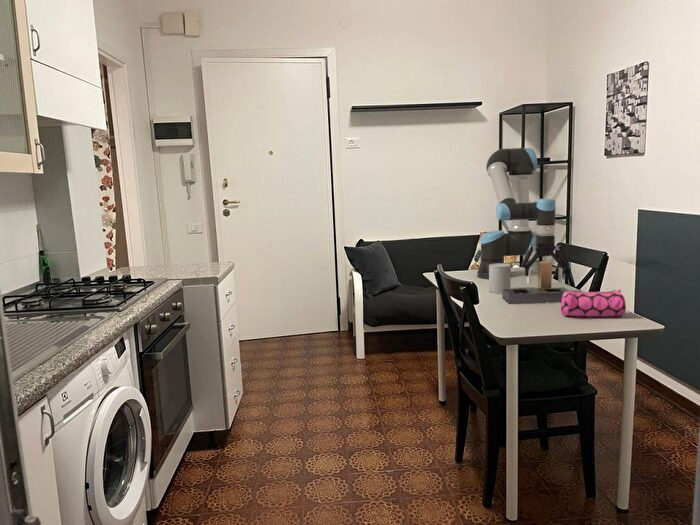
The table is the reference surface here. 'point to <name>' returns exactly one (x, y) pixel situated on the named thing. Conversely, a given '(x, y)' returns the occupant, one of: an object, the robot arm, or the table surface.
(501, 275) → the gray cylinder
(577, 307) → the pencil case
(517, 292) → the gray slotted block
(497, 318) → the table surface
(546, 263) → the brass peg
